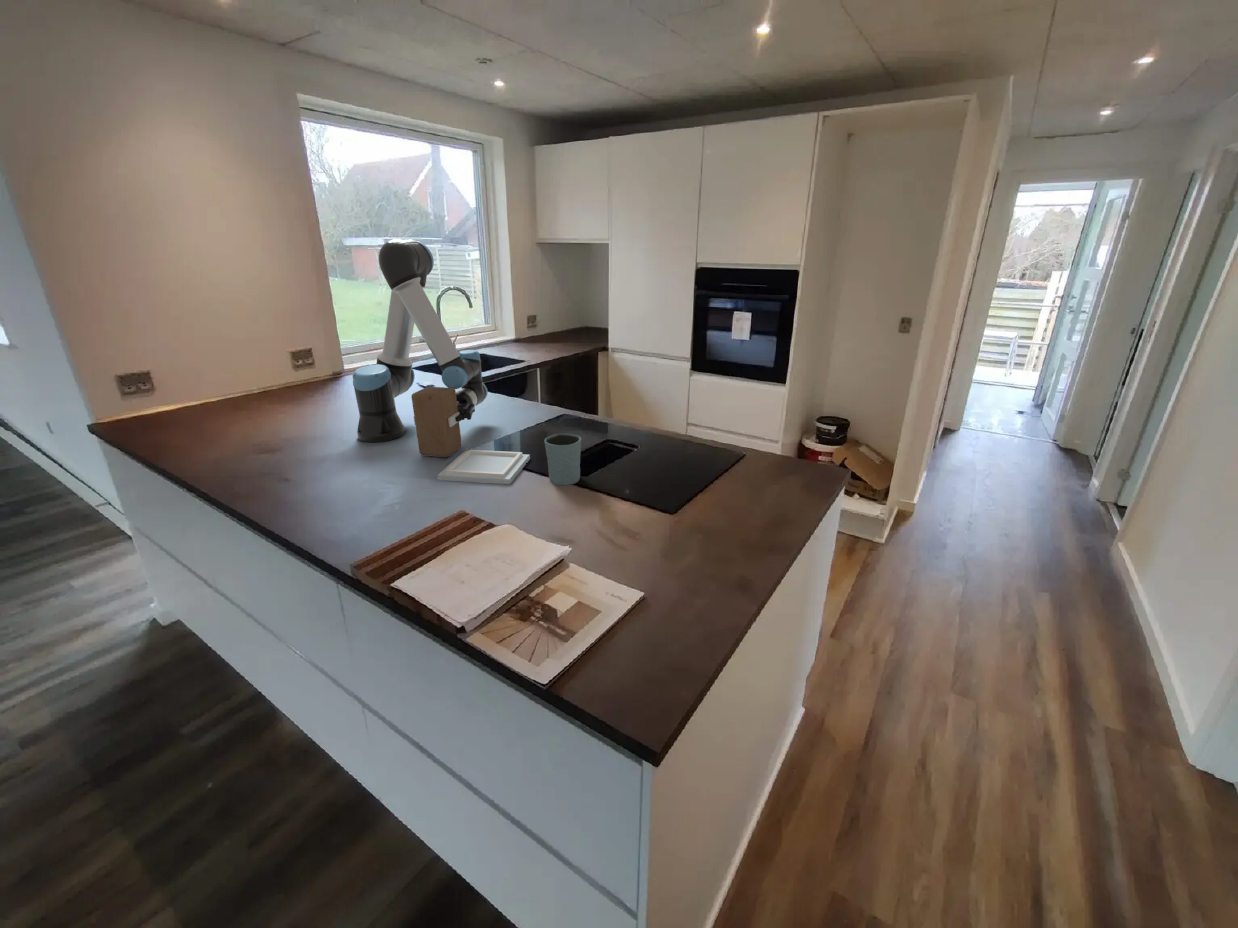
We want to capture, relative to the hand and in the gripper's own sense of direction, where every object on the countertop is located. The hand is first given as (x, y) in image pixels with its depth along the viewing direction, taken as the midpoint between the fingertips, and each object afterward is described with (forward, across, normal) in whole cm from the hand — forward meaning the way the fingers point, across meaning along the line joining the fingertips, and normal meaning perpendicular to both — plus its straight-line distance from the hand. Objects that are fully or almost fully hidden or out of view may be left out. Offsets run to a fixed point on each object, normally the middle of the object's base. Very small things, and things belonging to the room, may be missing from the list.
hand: (432, 421), depth 165 cm
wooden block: (-3, 0, -11) cm, 12 cm away
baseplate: (+8, -19, -11) cm, 23 cm away
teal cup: (+12, -44, -11) cm, 47 cm away
